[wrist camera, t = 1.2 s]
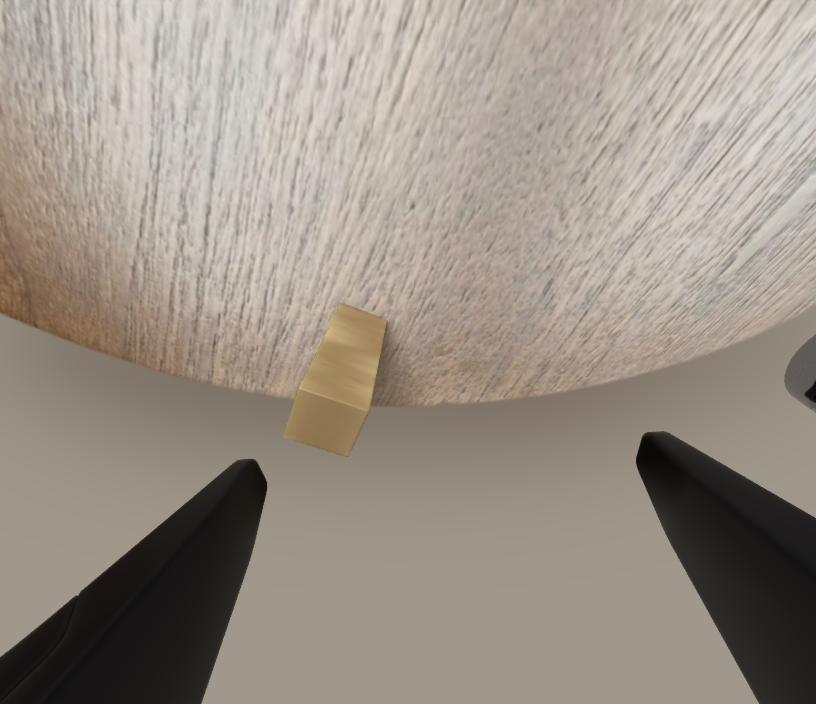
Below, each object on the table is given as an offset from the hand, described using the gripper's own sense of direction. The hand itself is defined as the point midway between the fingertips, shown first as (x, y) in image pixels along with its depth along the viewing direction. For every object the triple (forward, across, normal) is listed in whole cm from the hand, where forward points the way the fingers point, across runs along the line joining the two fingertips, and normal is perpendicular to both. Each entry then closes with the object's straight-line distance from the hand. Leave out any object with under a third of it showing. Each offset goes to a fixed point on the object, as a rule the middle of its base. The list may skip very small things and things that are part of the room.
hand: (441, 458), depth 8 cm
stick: (+13, +5, +3) cm, 14 cm away
